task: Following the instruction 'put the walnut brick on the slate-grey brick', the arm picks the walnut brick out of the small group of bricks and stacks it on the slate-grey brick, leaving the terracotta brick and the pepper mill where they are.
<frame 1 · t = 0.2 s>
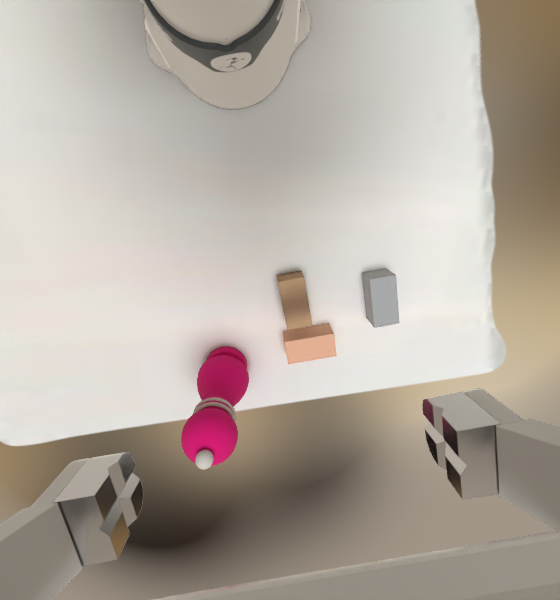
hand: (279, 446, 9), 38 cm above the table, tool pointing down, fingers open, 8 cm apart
walnut brick: (293, 295, 48), on the table
terracotta brick: (307, 337, 50), on the table
pepper mill: (227, 363, 51), on the table
slate-grey brick: (375, 293, 48), on the table
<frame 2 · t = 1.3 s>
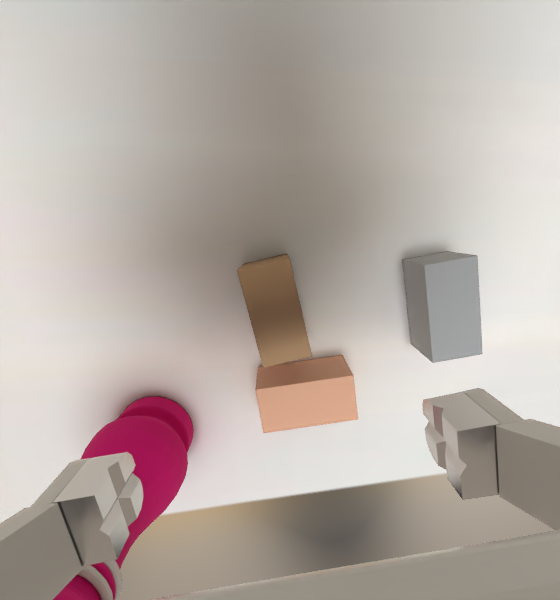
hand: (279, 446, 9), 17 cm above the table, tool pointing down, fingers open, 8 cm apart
walnut brick: (275, 301, 26), on the table
terracotta brick: (302, 379, 28), on the table
pepper mill: (157, 427, 28), on the table
slate-grey brick: (427, 298, 26), on the table
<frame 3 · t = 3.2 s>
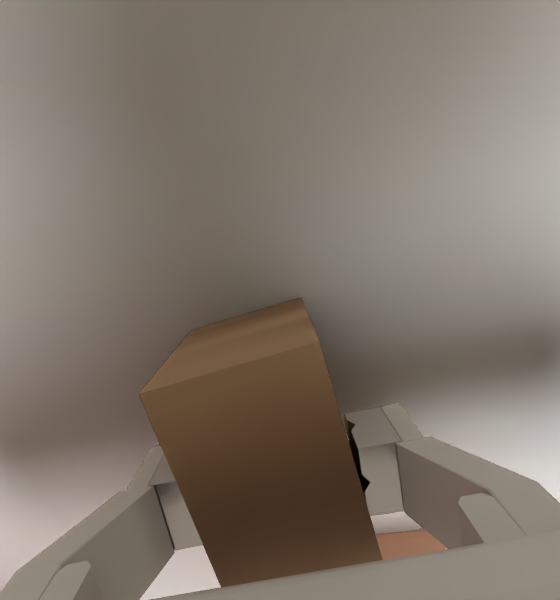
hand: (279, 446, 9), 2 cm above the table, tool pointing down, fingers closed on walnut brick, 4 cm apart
walnut brick: (279, 413, 11), on the table, touching gripper
terracotta brick: (340, 574, 12), on the table
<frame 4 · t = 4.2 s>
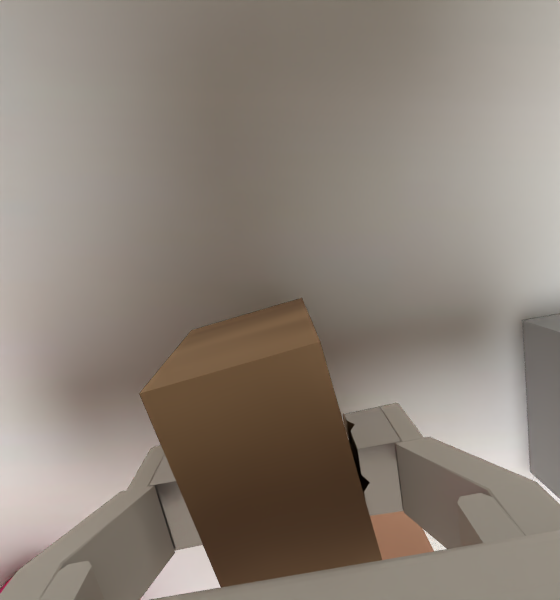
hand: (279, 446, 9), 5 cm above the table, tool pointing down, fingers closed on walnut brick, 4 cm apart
walnut brick: (279, 414, 11), point 3 cm above the table, touching gripper
terracotta brick: (328, 531, 15), on the table
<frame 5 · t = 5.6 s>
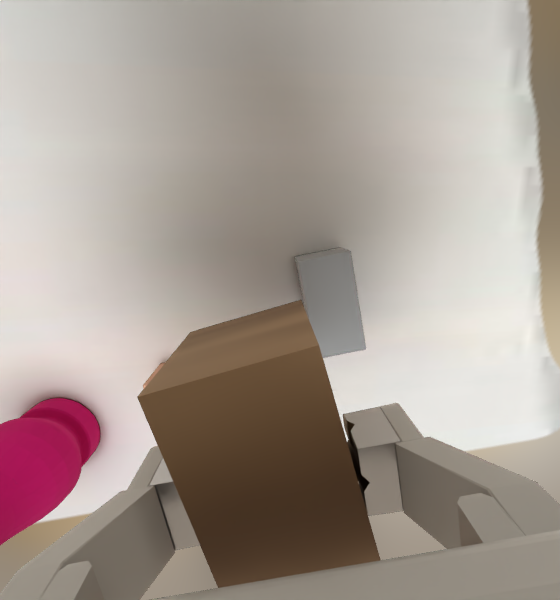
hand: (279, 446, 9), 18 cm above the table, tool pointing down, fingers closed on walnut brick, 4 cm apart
walnut brick: (278, 416, 11), point 16 cm above the table, touching gripper
pepper mill: (65, 428, 28), on the table
slate-grey brick: (324, 295, 26), on the table
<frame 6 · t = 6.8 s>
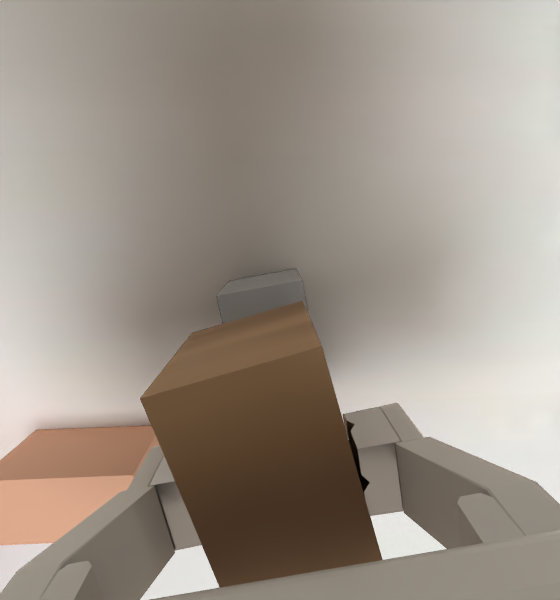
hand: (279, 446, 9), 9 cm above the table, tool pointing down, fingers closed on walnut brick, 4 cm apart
walnut brick: (279, 417, 11), point 7 cm above the table, touching gripper
terracotta brick: (104, 452, 19), on the table
slate-grey brick: (275, 337, 18), on the table
when the fingers open (7 cm above the table, at t = 7.5 s): walnut brick moves 1 cm, point 4 cm above the table.
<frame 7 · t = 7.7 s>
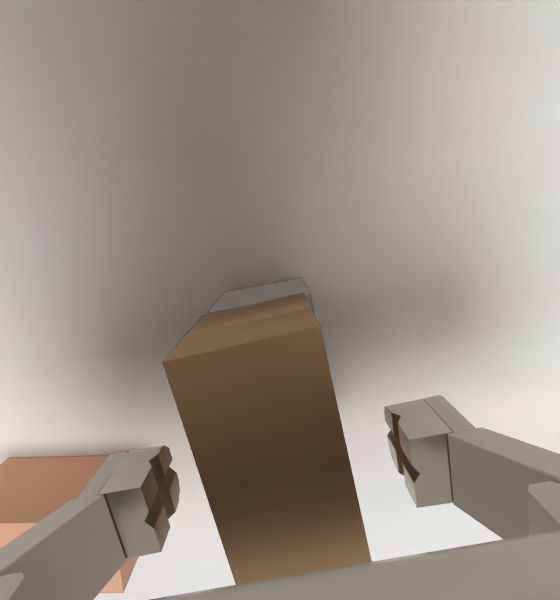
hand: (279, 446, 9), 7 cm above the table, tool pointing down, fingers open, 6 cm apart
walnut brick: (276, 397, 12), point 4 cm above the table
terracotta brick: (85, 484, 17), on the table
slate-grey brick: (277, 355, 16), on the table
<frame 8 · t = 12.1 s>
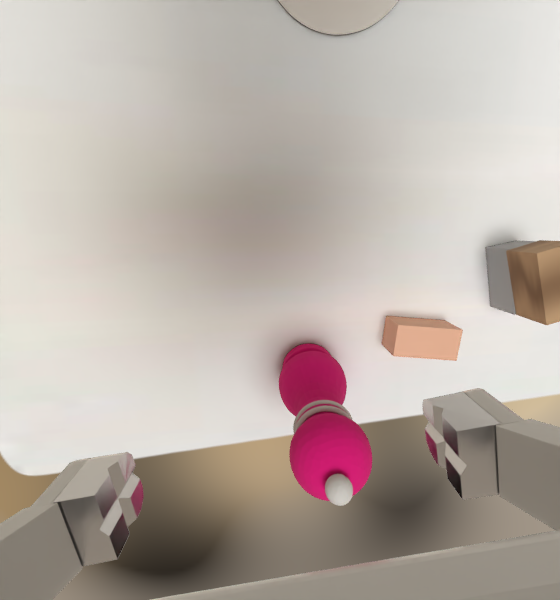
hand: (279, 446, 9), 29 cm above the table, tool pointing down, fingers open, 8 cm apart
walnut brick: (527, 278, 34), point 4 cm above the table
terracotta brick: (412, 331, 39), on the table
pepper mill: (307, 366, 40), on the table
slate-grey brick: (502, 273, 38), on the table
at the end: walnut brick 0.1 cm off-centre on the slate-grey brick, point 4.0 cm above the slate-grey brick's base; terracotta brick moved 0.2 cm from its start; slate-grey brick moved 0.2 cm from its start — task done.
